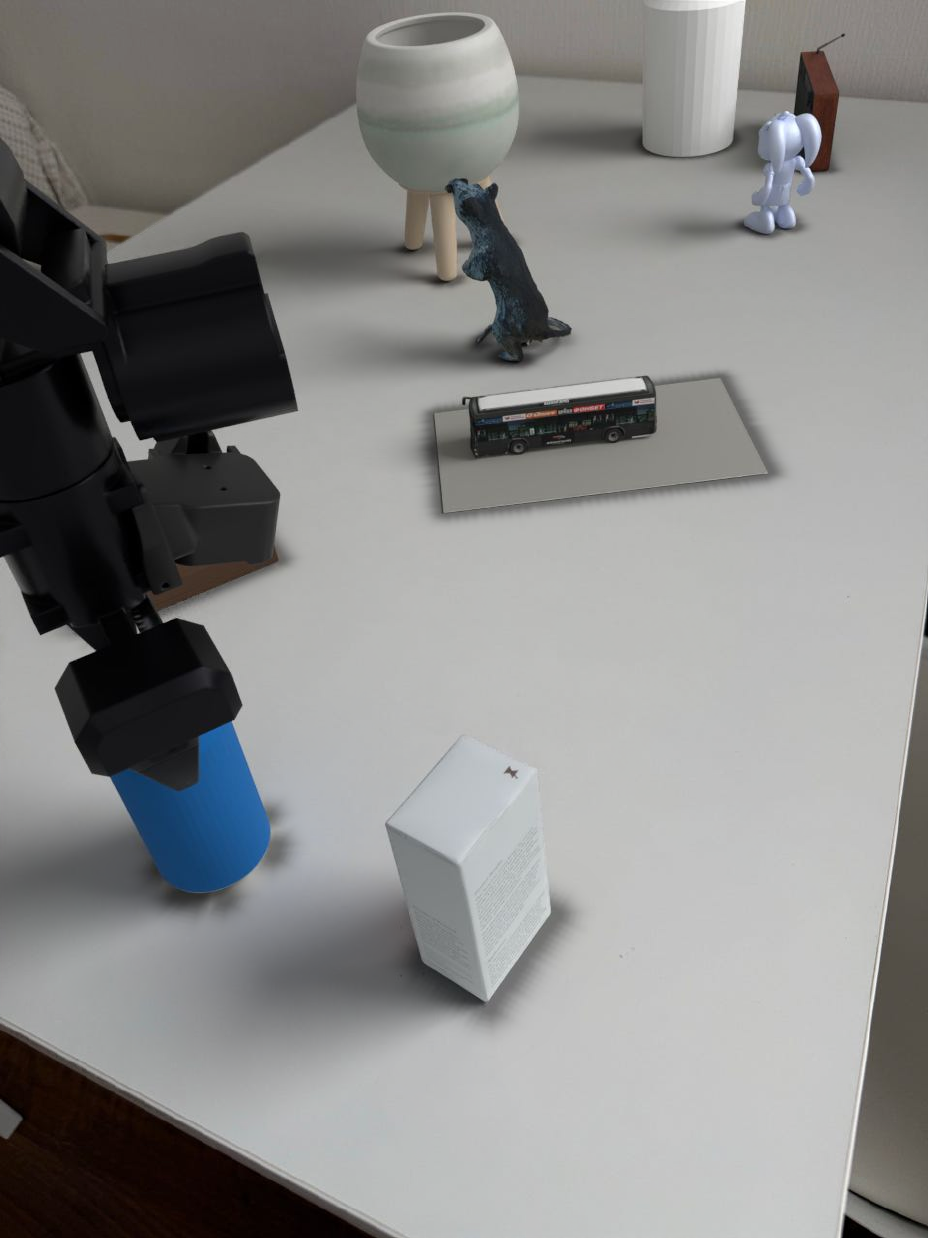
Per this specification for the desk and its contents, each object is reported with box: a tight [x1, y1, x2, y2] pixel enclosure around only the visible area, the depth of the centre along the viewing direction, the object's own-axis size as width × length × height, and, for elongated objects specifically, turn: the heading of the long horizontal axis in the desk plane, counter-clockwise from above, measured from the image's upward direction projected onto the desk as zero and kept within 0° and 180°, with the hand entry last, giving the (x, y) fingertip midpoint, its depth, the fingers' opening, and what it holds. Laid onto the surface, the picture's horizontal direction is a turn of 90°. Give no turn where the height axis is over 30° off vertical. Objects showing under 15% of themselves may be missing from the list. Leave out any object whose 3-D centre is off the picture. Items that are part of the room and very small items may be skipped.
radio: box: [793, 33, 846, 172], centre depth 121 cm, size 19×3×15 cm, turn 172°
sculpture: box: [445, 178, 573, 362], centre depth 93 cm, size 8×11×15 cm
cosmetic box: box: [384, 734, 552, 1003], centre depth 49 cm, size 6×4×12 cm
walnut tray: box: [147, 545, 280, 612], centre depth 78 cm, size 14×12×2 cm
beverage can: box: [109, 721, 272, 894], centre depth 54 cm, size 6×6×12 cm
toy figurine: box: [743, 110, 821, 235], centre depth 107 cm, size 7×6×12 cm
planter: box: [355, 11, 520, 282], centre depth 106 cm, size 16×16×22 cm
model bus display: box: [433, 375, 769, 514], centre depth 83 cm, size 14×25×4 cm, turn 94°
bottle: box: [642, 0, 747, 158], centre depth 124 cm, size 12×12×25 cm
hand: (158, 723), depth 51 cm, fingers open, 9 cm apart
